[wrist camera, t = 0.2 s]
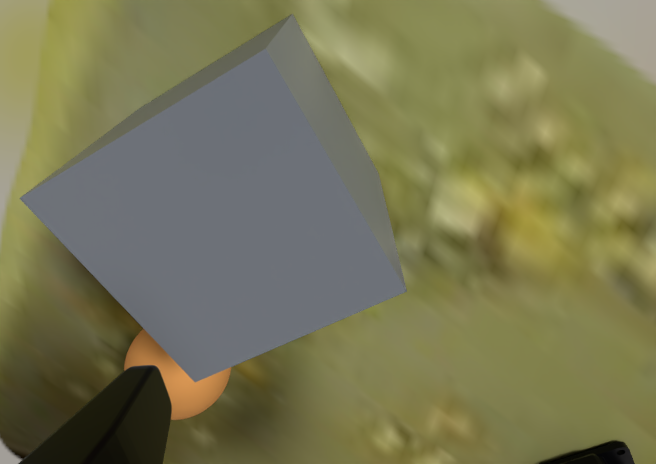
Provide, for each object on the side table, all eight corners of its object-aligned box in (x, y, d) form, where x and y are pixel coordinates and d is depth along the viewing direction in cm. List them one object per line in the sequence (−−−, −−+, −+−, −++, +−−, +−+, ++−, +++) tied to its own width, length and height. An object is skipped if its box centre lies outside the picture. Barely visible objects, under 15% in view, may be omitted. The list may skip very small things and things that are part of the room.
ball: (257, 344, 26) (242, 421, 22) (183, 377, 27) (155, 455, 23) (202, 278, 24) (173, 348, 20) (125, 316, 25) (82, 390, 21)
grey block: (378, 173, 21) (406, 291, 14) (239, 243, 23) (195, 382, 15) (292, 13, 18) (265, 48, 10) (139, 108, 20) (19, 198, 12)
